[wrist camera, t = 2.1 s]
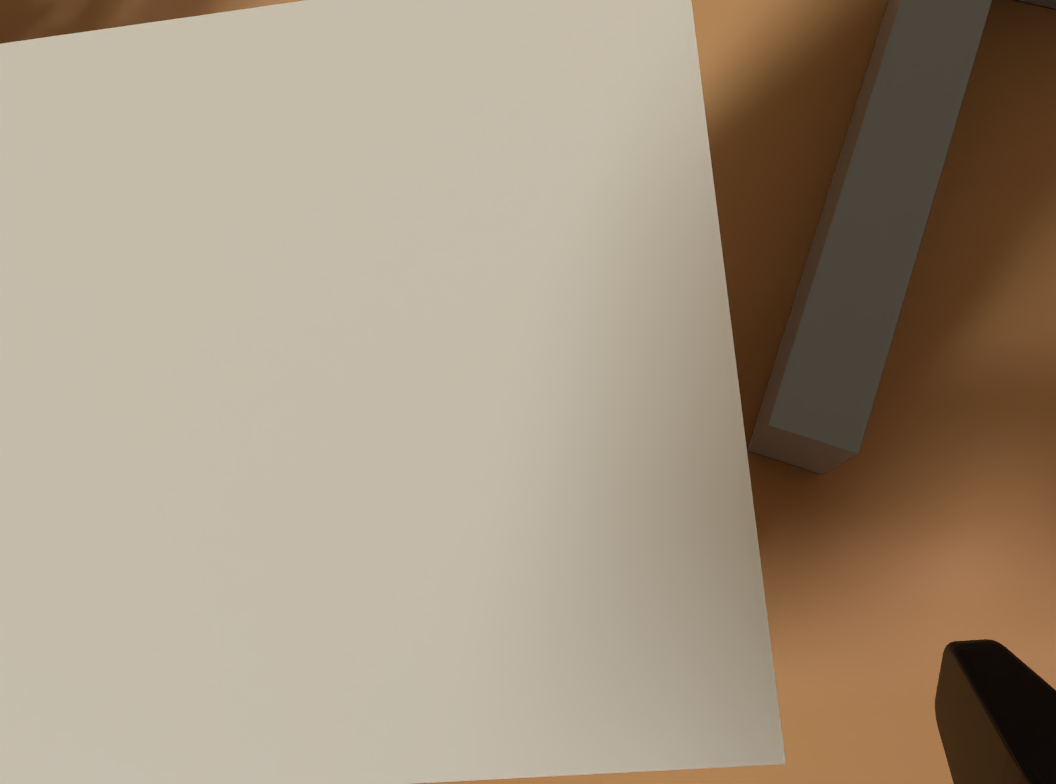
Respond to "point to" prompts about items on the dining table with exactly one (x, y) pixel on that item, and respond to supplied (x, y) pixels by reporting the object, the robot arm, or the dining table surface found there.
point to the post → (371, 402)
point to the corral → (869, 233)
